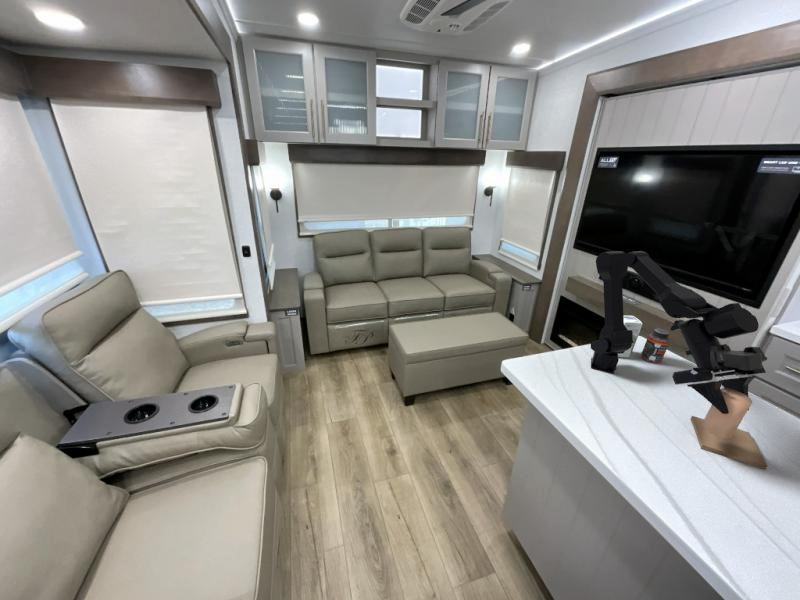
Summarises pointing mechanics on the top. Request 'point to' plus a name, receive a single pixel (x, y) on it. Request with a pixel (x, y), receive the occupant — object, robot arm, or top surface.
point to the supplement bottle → (656, 346)
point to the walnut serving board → (729, 445)
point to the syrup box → (635, 326)
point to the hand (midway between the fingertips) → (735, 412)
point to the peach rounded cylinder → (727, 422)
